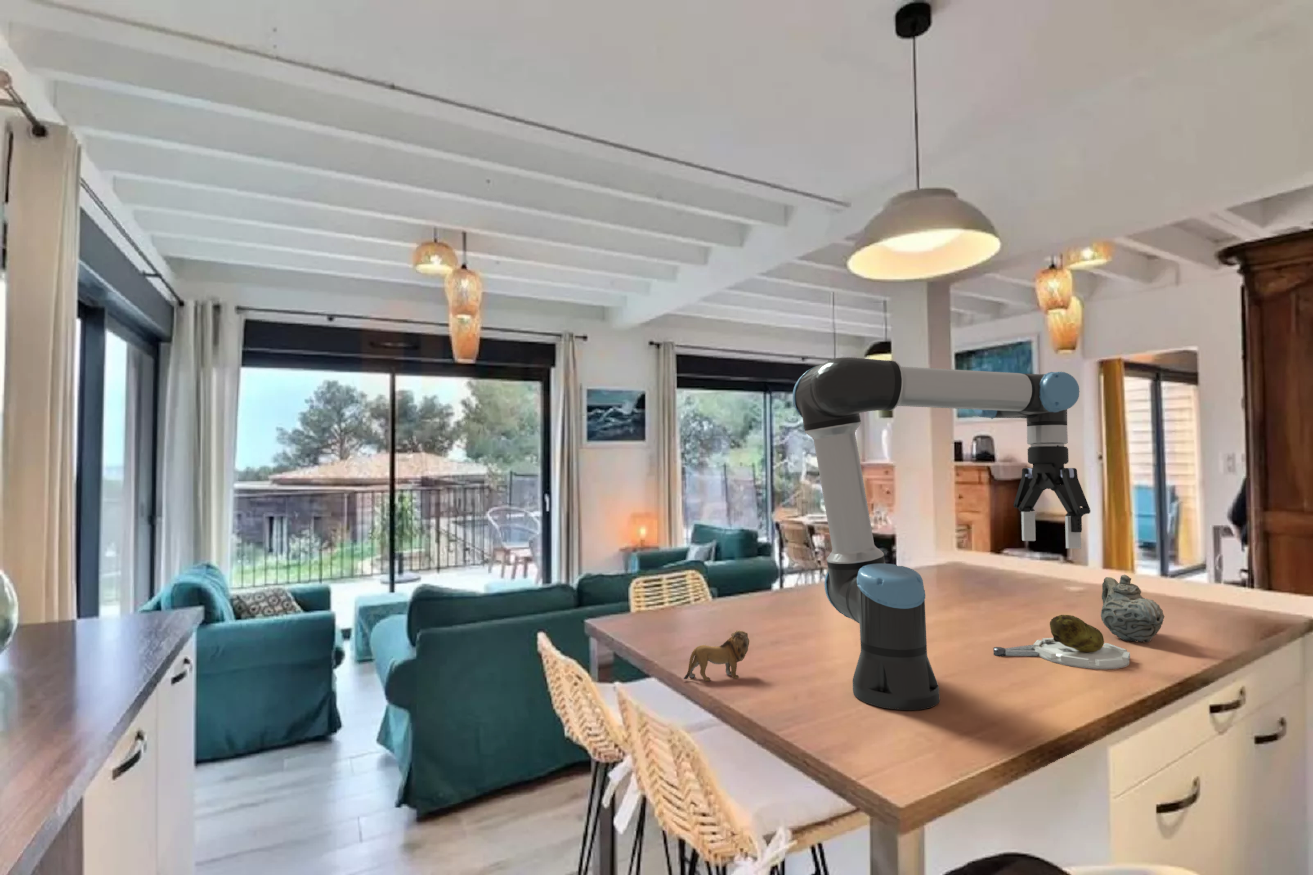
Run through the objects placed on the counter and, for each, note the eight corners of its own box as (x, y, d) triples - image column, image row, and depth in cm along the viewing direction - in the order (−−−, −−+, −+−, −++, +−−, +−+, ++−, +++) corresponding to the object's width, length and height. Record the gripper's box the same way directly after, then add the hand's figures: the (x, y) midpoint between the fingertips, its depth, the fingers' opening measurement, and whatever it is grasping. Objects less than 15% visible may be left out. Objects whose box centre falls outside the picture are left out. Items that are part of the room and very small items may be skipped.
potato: (1123, 655, 133) (1120, 617, 133) (1066, 658, 132) (1064, 620, 132) (1092, 644, 141) (1090, 608, 142) (1038, 647, 140) (1036, 611, 141)
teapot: (1187, 652, 138) (1183, 583, 138) (1129, 651, 140) (1125, 582, 140) (1130, 627, 159) (1126, 567, 159) (1080, 626, 161) (1077, 567, 161)
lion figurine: (744, 669, 135) (742, 626, 135) (755, 676, 130) (753, 632, 130) (679, 678, 130) (678, 634, 131) (688, 686, 125) (687, 640, 126)
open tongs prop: (1007, 661, 135) (1007, 654, 135) (982, 649, 144) (982, 643, 144) (1078, 657, 136) (1078, 651, 136) (1049, 645, 145) (1048, 639, 145)
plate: (1072, 671, 128) (1071, 662, 128) (1018, 647, 144) (1017, 639, 145) (1150, 667, 129) (1150, 658, 129) (1088, 643, 146) (1087, 636, 146)
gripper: (1109, 443, 124) (1112, 551, 123) (1025, 447, 149) (1027, 537, 148) (1073, 443, 124) (1076, 552, 123) (995, 447, 149) (997, 538, 148)
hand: (1050, 544), depth 135 cm, fingers open, 13 cm apart
